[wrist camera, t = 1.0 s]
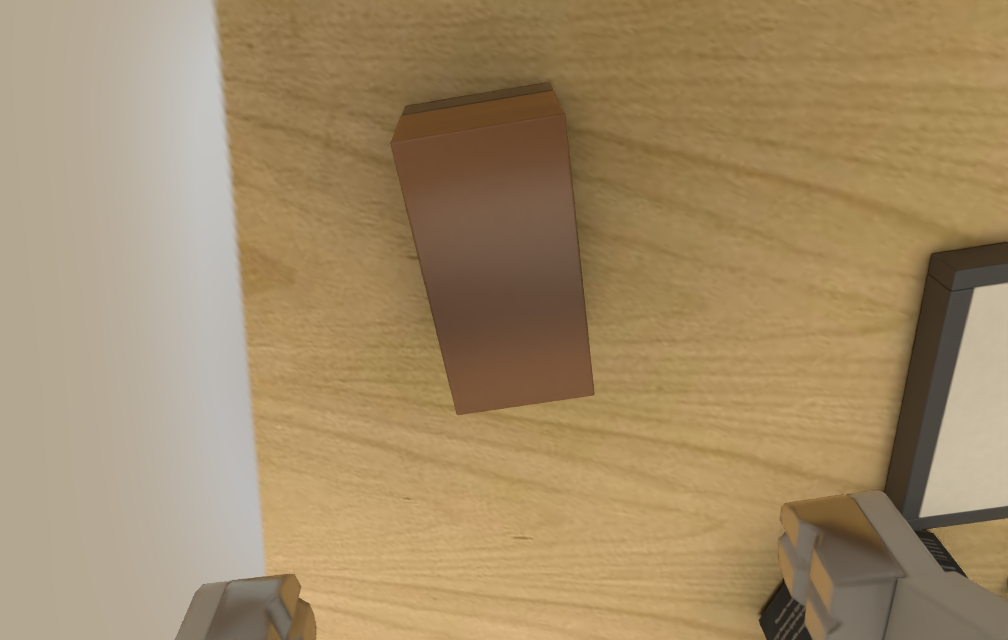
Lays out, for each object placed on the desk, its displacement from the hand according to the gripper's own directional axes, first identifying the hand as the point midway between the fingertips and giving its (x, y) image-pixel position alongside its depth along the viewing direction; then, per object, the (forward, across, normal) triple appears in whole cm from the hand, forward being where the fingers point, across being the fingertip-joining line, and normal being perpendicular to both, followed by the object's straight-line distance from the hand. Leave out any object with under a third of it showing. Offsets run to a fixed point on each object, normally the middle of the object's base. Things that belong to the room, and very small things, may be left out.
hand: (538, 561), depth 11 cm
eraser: (+13, 0, 0) cm, 13 cm away
